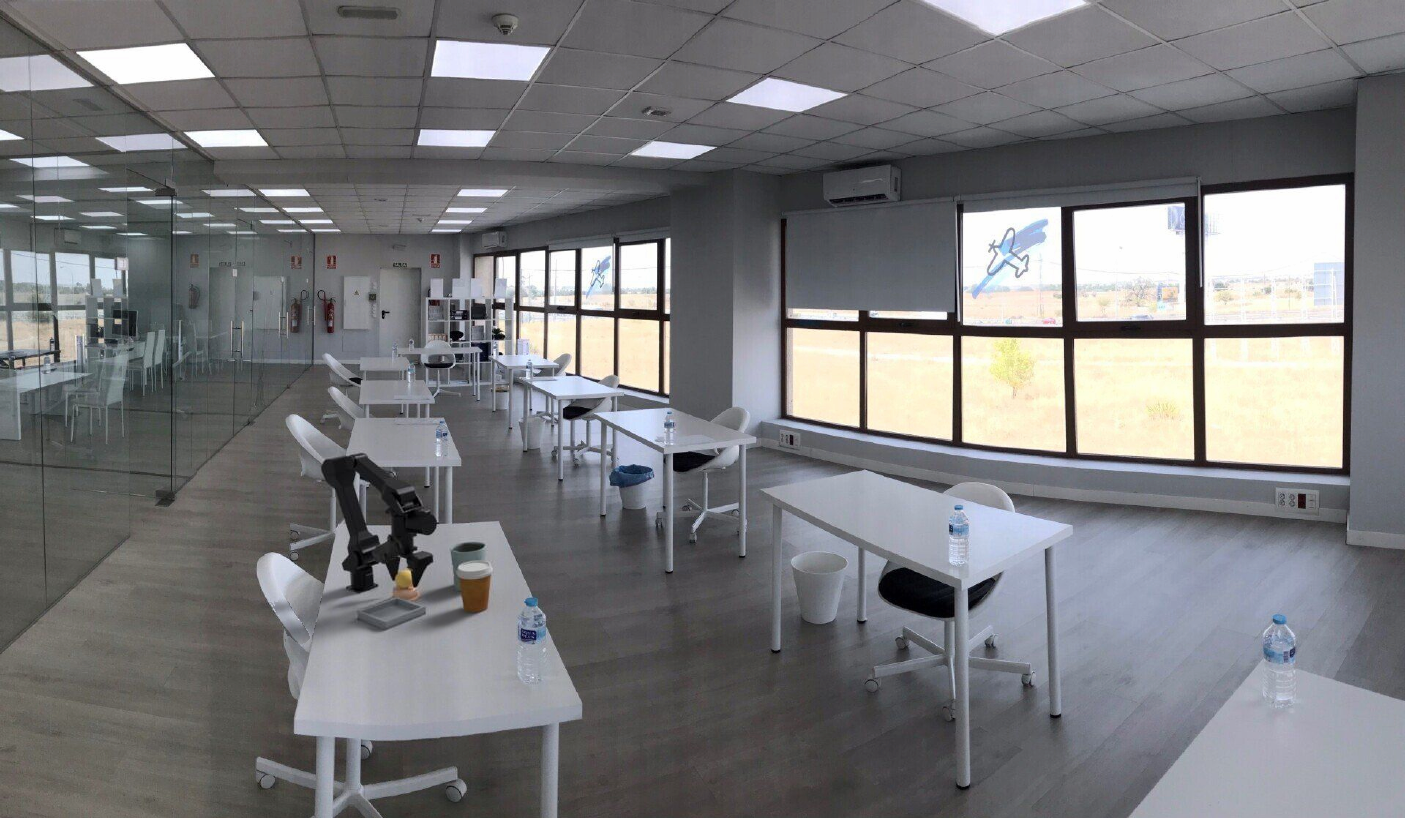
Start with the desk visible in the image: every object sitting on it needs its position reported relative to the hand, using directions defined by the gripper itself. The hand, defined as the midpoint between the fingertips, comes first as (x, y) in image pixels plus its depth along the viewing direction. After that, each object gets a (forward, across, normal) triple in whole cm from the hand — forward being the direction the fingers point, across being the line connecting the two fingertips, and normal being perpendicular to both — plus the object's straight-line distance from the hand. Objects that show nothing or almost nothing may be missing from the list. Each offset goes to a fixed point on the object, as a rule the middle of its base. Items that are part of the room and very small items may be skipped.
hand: (404, 583), depth 209 cm
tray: (+4, +8, -10) cm, 14 cm away
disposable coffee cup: (+4, +22, +6) cm, 23 cm away
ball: (+1, 0, 0) cm, 1 cm away
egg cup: (+4, 0, 0) cm, 4 cm away
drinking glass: (+4, +8, +16) cm, 18 cm away
